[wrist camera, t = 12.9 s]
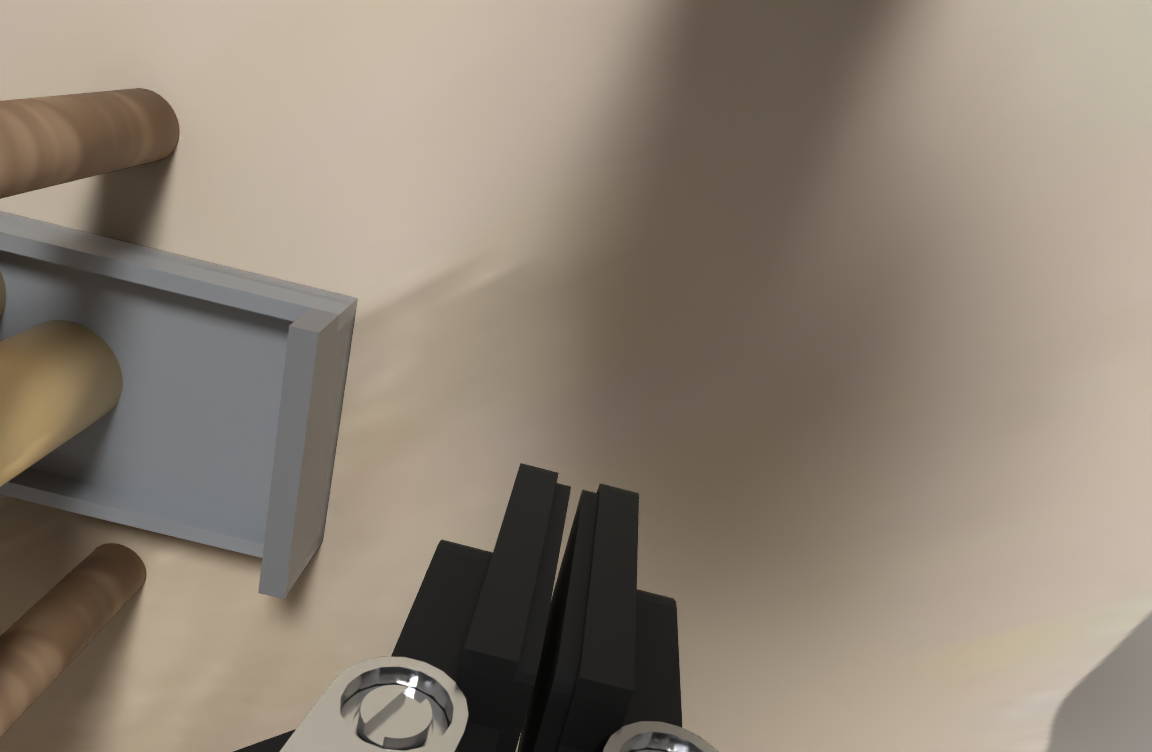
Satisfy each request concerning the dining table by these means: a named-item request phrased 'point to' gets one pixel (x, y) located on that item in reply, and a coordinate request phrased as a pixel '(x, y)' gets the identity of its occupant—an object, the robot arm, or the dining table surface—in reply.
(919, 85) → the dining table surface
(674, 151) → the dining table surface
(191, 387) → the tray
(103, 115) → the low table
